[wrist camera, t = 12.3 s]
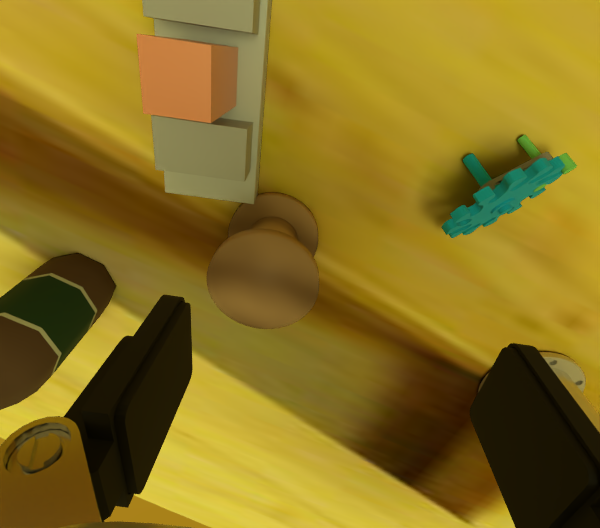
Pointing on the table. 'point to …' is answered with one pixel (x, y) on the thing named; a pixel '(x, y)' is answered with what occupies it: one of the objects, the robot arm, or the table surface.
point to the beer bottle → (48, 321)
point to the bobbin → (267, 263)
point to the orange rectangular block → (187, 78)
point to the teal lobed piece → (506, 188)
